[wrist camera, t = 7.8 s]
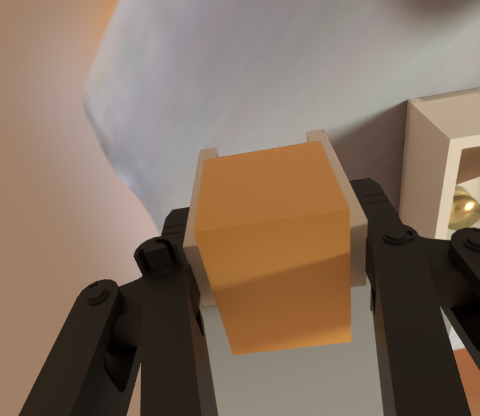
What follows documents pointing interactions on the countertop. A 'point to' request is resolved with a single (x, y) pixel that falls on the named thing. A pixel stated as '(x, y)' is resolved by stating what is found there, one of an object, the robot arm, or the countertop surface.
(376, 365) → the lid
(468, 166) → the walnut block
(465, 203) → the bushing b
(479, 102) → the tub
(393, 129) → the countertop surface
